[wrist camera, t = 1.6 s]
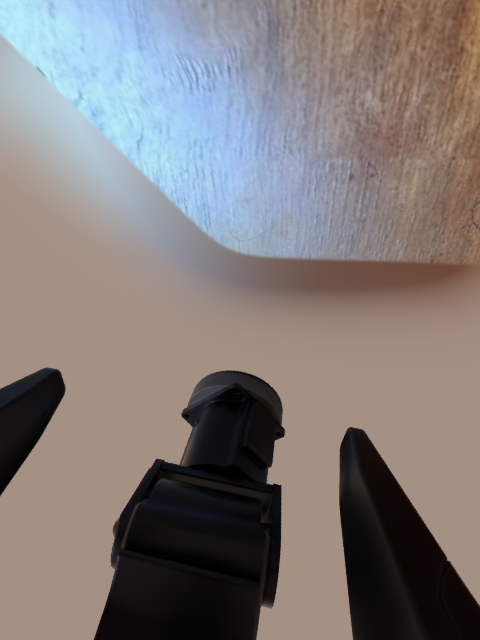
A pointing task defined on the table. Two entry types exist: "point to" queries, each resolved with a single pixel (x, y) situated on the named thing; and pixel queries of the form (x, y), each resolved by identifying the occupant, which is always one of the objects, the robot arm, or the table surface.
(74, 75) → the table surface
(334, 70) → the table surface
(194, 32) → the table surface
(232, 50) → the table surface
